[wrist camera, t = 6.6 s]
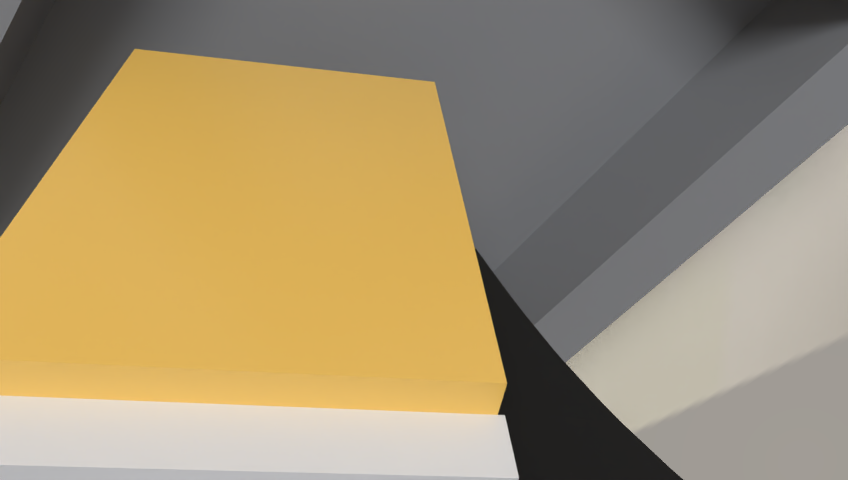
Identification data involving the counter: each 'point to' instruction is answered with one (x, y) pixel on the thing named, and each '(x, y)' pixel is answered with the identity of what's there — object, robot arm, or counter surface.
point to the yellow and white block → (249, 287)
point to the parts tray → (502, 113)
